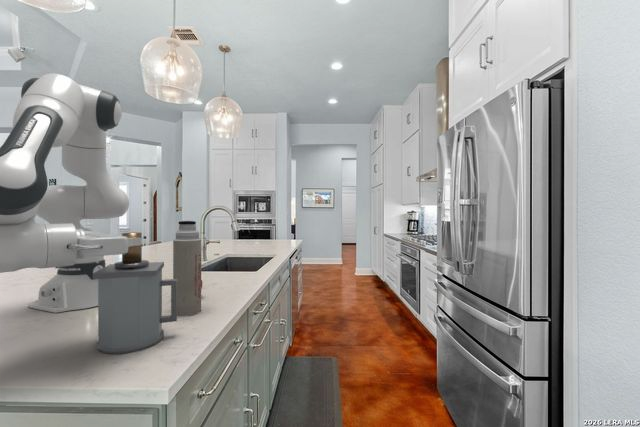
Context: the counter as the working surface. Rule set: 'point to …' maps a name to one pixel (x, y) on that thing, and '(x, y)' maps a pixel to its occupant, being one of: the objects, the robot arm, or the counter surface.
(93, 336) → the counter surface
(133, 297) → the press carafe
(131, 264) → the brown candle holder
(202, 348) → the counter surface
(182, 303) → the thermos bottle
